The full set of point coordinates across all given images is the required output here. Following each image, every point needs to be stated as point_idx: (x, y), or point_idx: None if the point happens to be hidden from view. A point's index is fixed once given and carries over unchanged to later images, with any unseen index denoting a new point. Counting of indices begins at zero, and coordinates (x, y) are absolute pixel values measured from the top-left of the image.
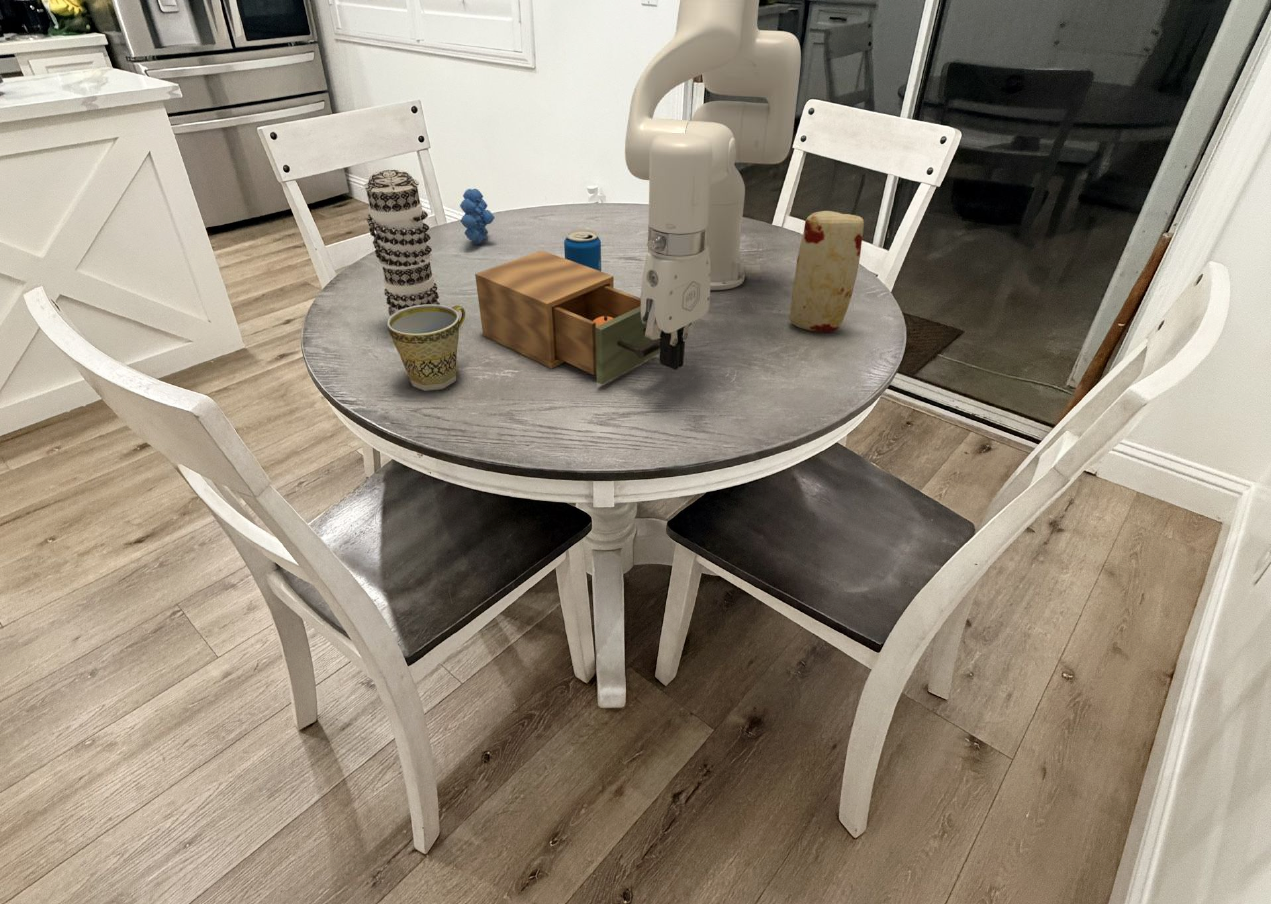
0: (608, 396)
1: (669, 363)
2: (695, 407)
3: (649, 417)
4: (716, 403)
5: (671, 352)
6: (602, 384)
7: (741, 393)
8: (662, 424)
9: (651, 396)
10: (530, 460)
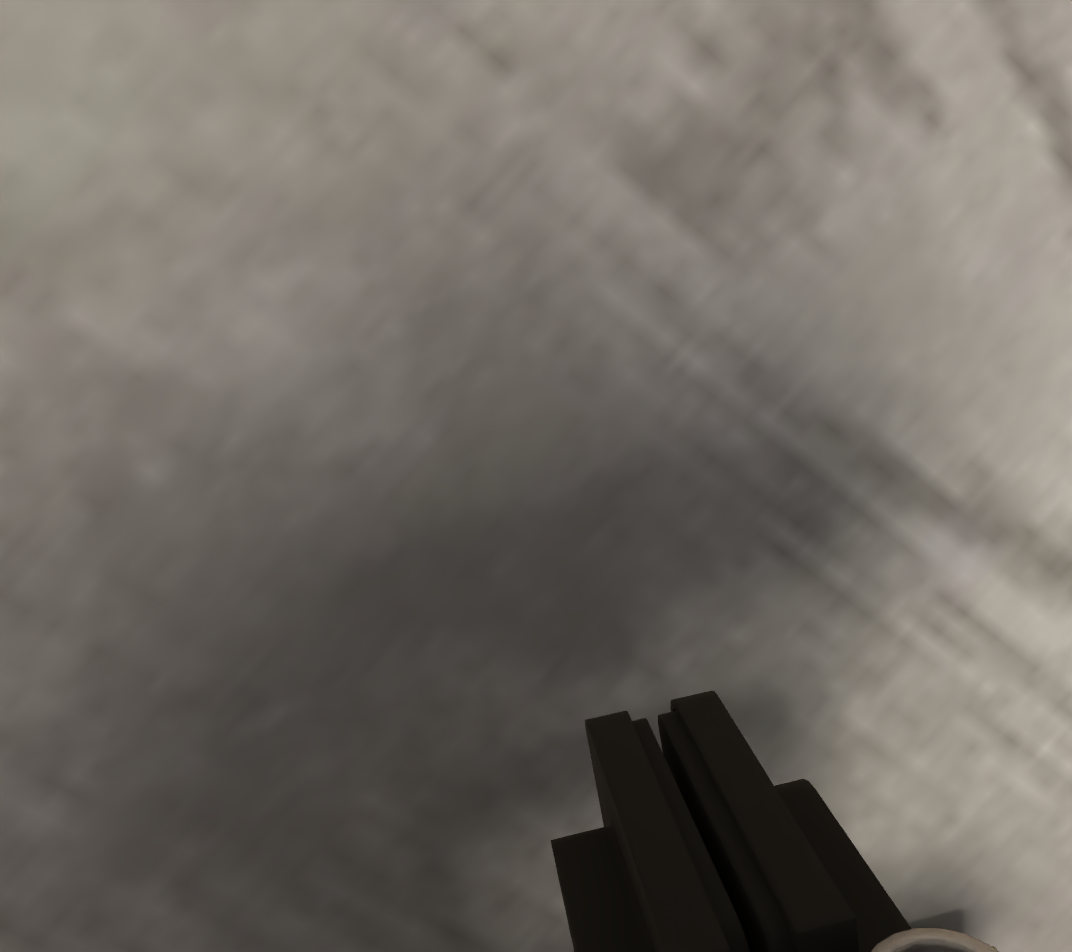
0: (988, 828)
1: (792, 782)
2: (592, 324)
3: (986, 435)
4: (384, 255)
5: (837, 882)
6: (994, 948)
7: (32, 240)
8: (989, 289)
9: (757, 669)
10: None
